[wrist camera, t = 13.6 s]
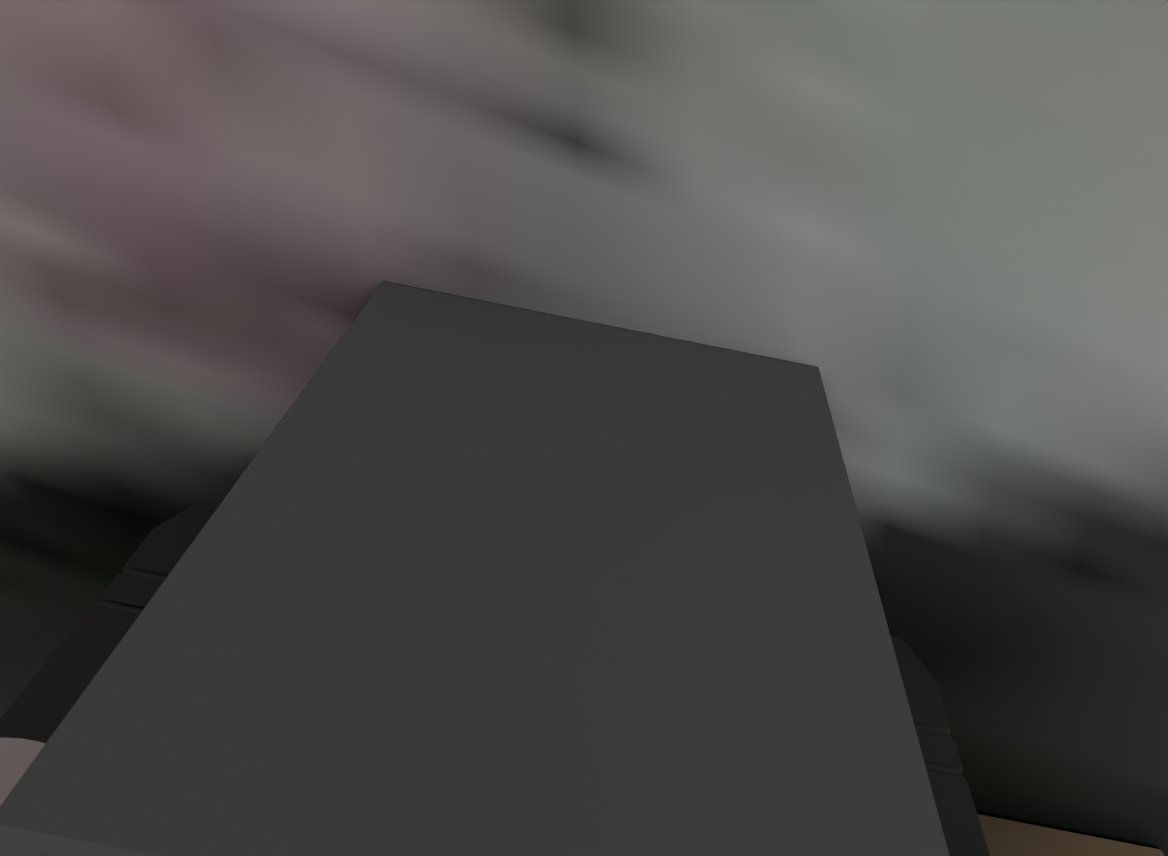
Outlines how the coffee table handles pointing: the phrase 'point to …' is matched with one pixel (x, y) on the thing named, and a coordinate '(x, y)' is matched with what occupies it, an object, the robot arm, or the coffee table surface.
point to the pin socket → (1051, 841)
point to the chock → (507, 621)
